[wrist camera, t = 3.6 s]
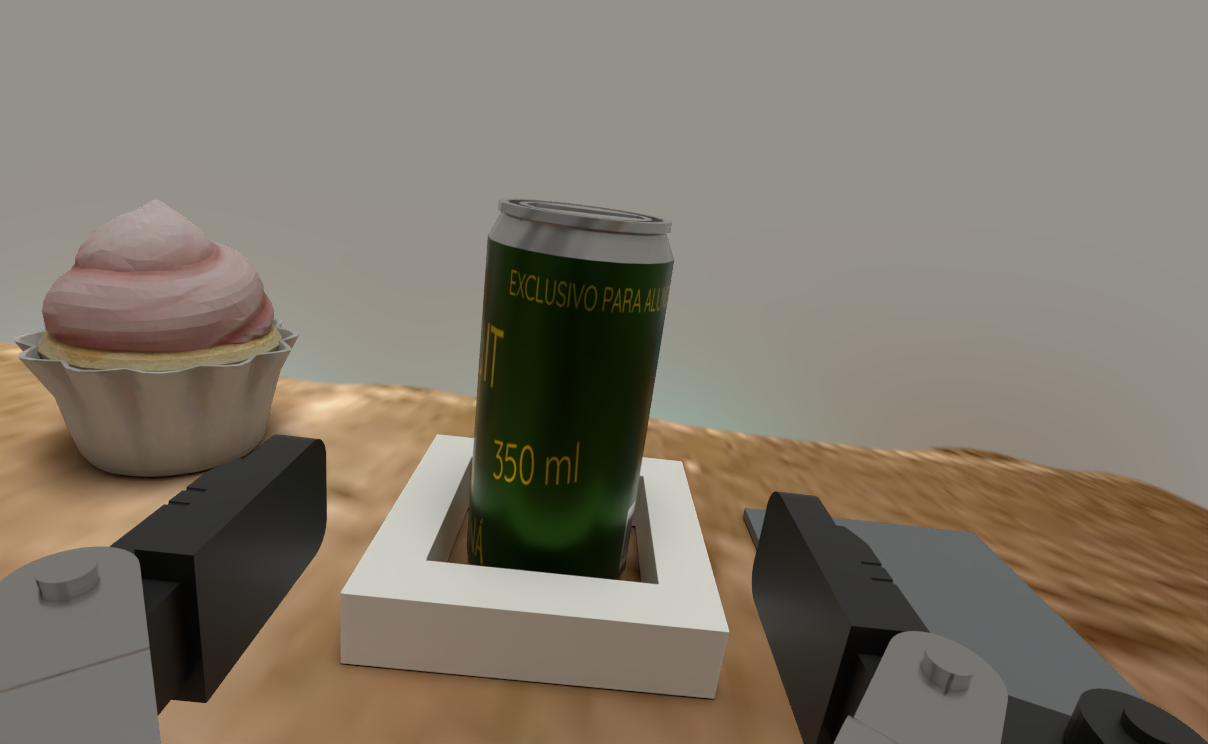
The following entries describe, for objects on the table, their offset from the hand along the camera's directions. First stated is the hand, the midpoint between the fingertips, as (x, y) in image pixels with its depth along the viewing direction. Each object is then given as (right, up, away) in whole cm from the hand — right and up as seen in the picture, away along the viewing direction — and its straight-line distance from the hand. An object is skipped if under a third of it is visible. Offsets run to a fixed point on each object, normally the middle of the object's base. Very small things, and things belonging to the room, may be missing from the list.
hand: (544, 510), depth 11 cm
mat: (+12, -6, +11) cm, 17 cm away
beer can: (-1, -4, +10) cm, 11 cm away
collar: (-1, -4, +10) cm, 11 cm away
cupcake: (-17, -1, +15) cm, 23 cm away
